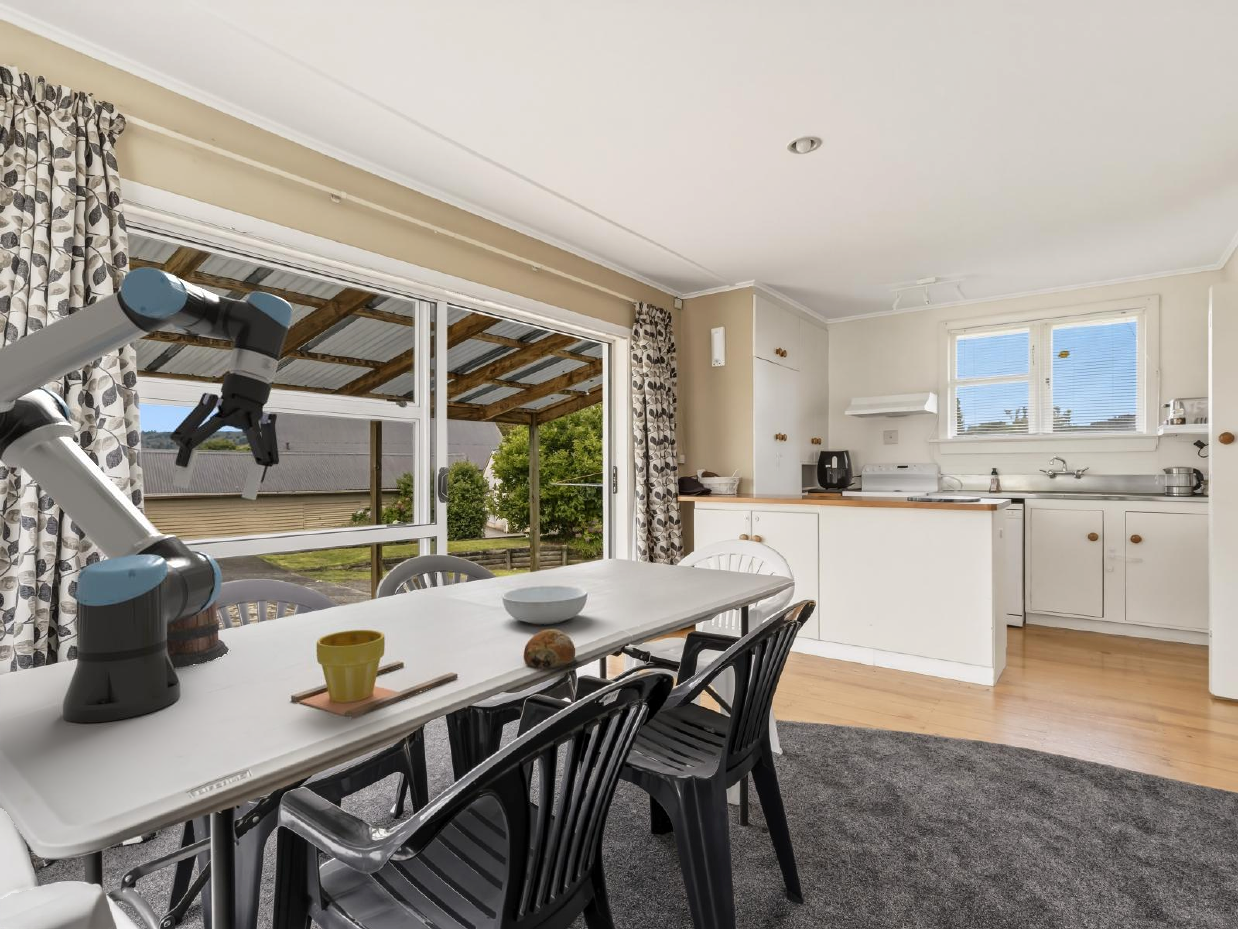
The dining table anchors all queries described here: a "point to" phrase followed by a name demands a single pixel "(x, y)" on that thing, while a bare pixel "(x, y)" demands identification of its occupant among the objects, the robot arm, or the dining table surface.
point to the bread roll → (549, 649)
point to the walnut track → (382, 701)
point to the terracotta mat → (341, 708)
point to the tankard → (195, 639)
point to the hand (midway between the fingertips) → (216, 493)
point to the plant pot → (350, 663)
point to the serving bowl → (544, 603)
